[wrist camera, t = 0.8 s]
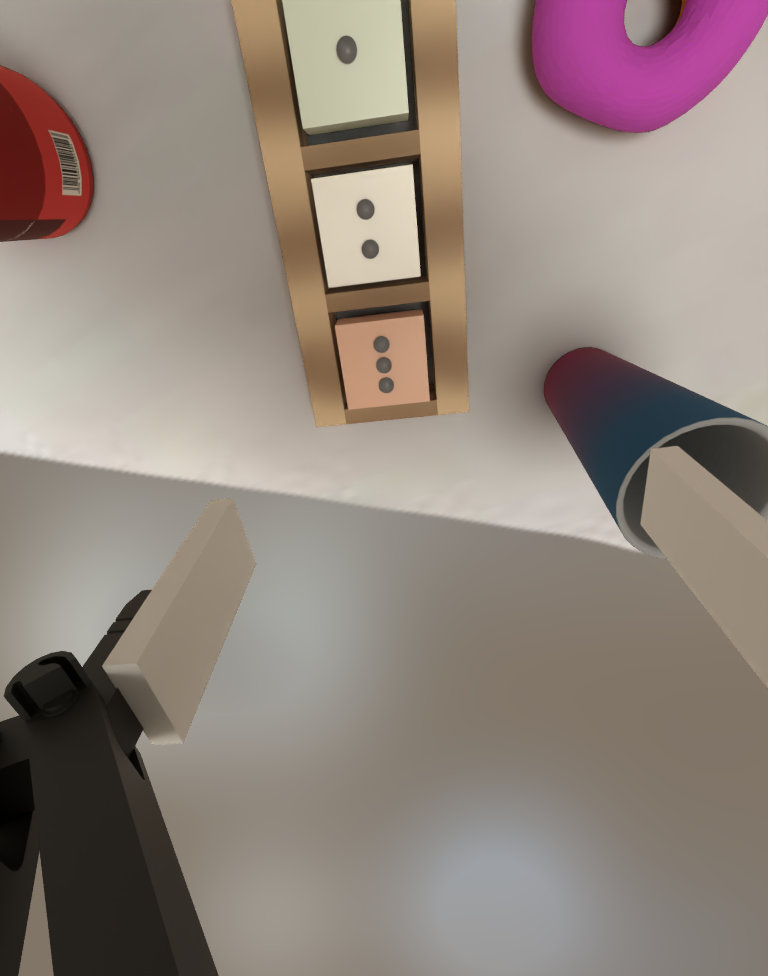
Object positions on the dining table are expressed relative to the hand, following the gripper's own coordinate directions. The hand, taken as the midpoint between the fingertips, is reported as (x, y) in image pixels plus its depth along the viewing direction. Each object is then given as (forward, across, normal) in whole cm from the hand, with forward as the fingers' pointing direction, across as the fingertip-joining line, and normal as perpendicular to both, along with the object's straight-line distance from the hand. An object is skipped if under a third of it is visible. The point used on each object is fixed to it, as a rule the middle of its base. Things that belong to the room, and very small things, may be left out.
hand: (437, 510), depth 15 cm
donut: (+20, +12, +15) cm, 28 cm away
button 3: (+17, -2, +1) cm, 17 cm away
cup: (+19, +11, -4) cm, 23 cm away
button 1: (+17, -2, +15) cm, 23 cm away
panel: (+19, -2, +8) cm, 21 cm away
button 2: (+17, -2, +8) cm, 19 cm away
